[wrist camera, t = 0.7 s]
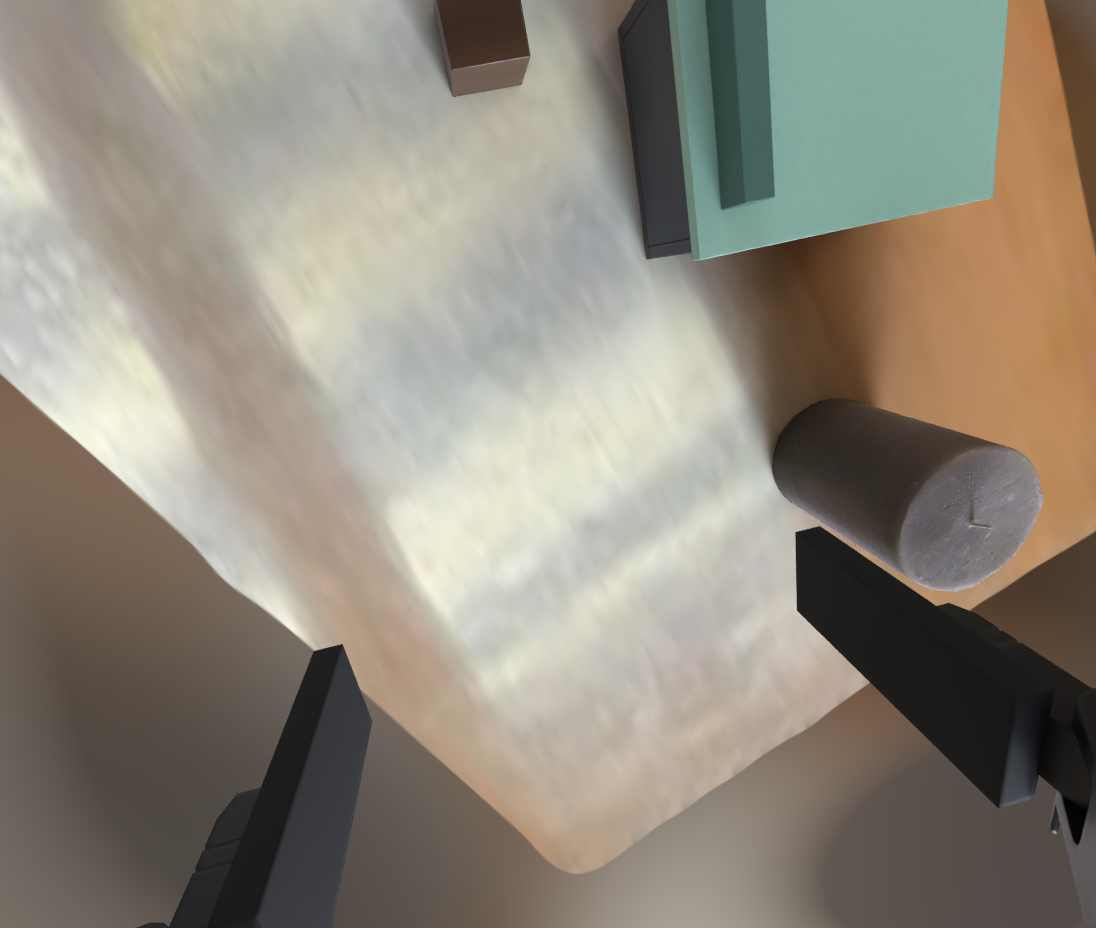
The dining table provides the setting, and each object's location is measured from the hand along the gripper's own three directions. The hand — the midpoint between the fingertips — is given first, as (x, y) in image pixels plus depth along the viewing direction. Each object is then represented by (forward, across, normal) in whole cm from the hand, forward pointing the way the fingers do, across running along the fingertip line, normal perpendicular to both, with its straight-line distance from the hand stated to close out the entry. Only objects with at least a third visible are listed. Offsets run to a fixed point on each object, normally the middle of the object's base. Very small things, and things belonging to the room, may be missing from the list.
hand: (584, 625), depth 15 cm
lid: (+18, +20, +16) cm, 31 cm away
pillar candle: (+26, +25, -9) cm, 38 cm away
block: (+26, +3, +22) cm, 35 cm away
